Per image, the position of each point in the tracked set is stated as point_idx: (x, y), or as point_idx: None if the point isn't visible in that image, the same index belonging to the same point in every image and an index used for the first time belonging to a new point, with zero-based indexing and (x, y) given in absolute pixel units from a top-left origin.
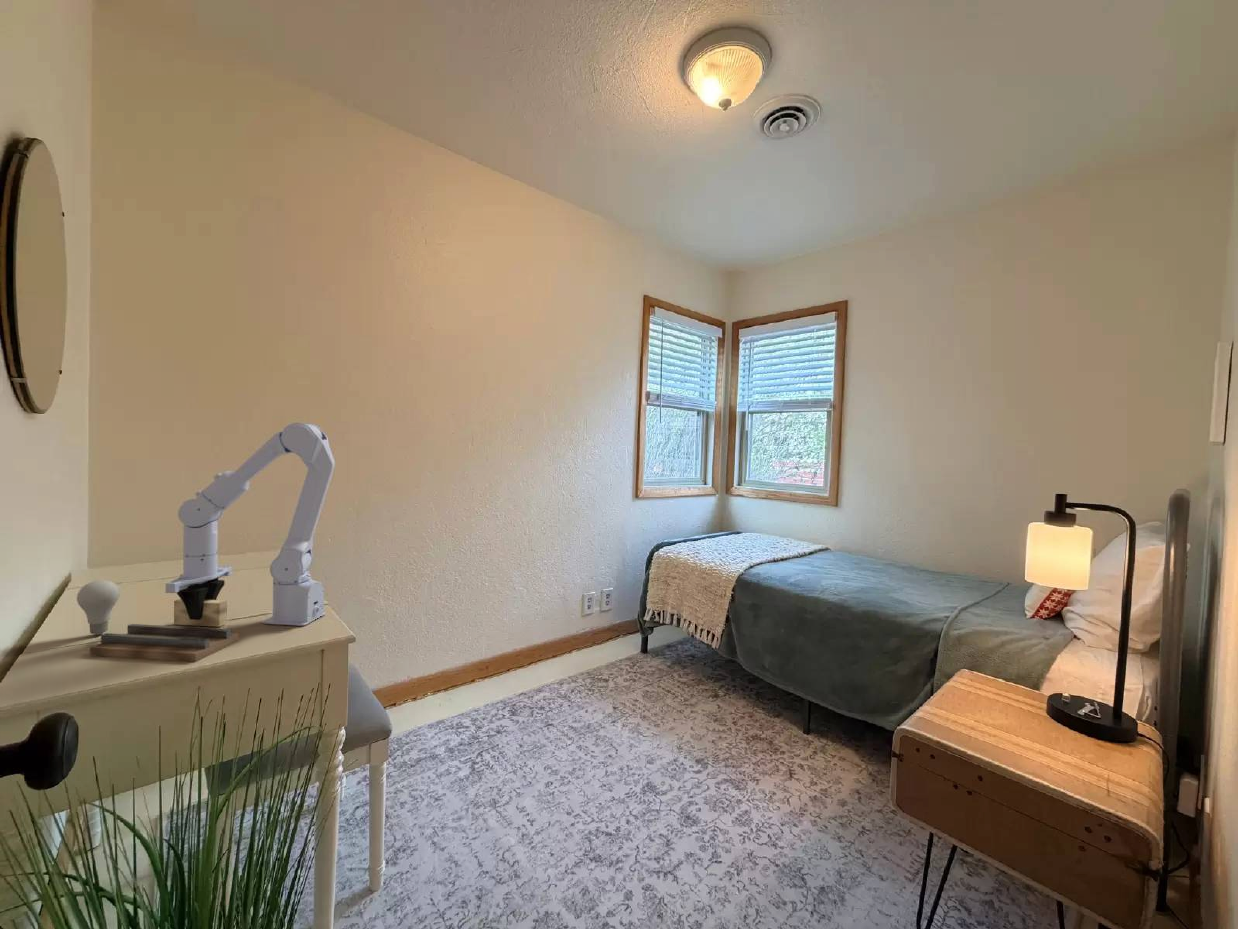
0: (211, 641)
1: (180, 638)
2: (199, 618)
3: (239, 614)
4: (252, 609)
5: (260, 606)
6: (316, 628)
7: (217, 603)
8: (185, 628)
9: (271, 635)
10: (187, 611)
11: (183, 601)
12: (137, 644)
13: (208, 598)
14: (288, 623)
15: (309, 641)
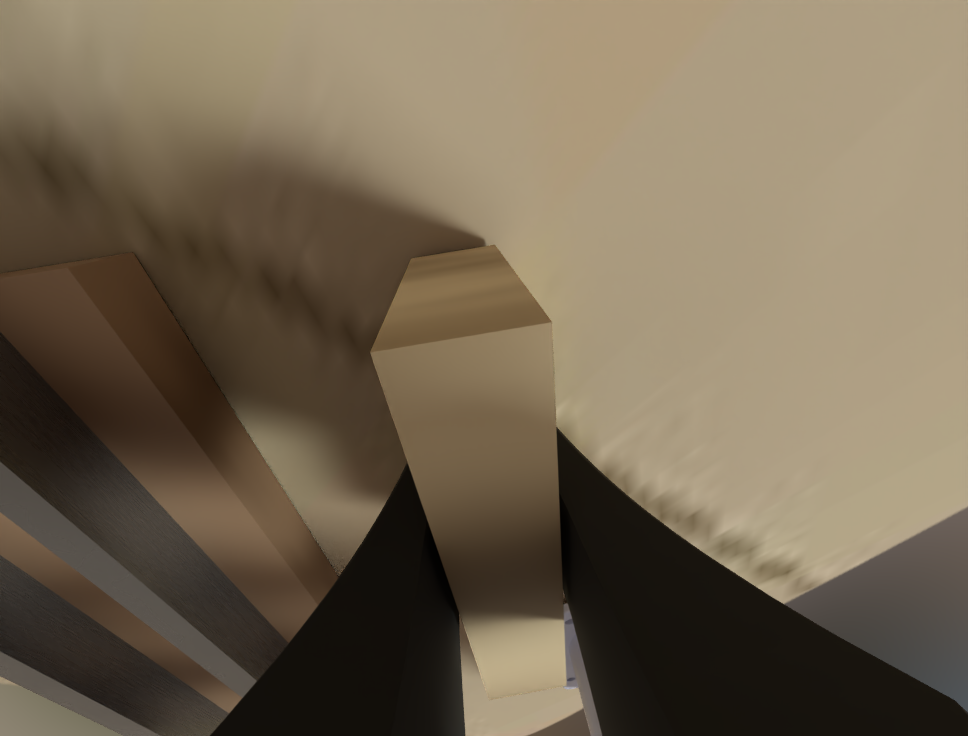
0: None
1: (125, 725)
2: None
3: (692, 440)
4: (787, 429)
5: (845, 423)
6: (556, 696)
7: (487, 691)
8: (206, 663)
9: (467, 670)
10: (398, 482)
11: (330, 600)
12: None
13: (575, 606)
14: None
15: None
